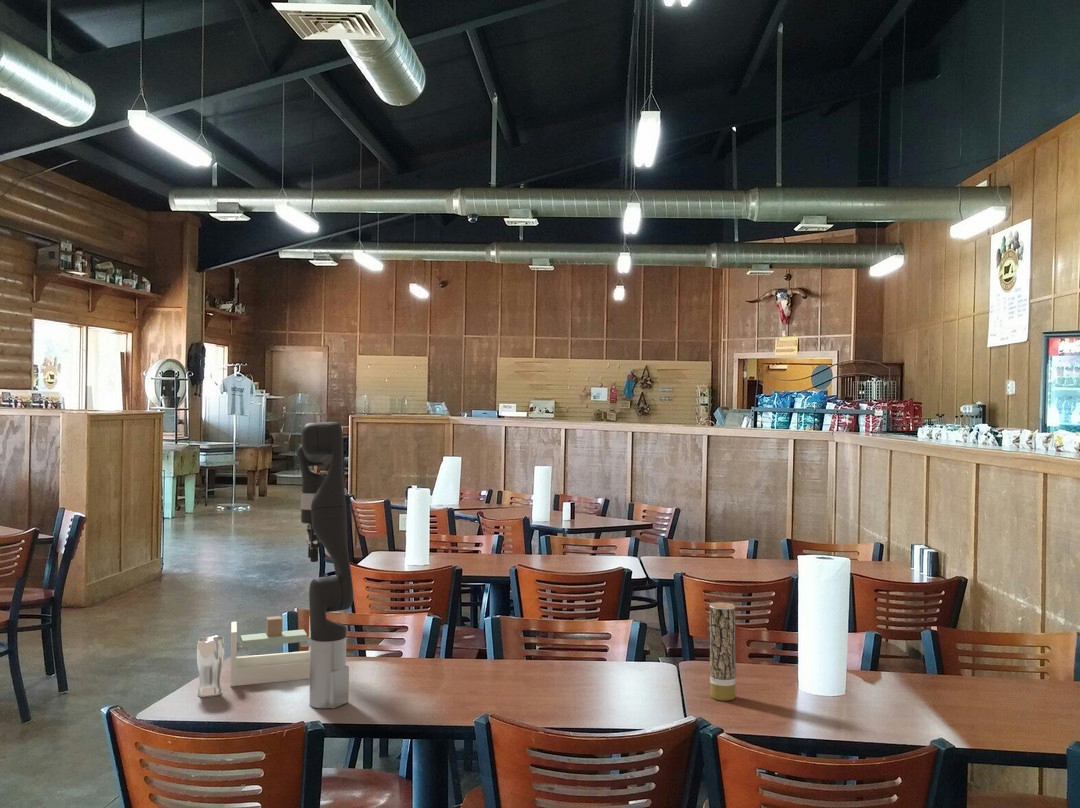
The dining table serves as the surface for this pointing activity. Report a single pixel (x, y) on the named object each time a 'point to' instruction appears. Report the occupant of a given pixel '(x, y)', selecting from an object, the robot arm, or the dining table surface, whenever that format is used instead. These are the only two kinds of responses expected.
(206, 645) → the beer glass
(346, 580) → the robot arm
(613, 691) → the dining table surface
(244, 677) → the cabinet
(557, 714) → the dining table surface
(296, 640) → the shelf board
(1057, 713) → the dining table surface
